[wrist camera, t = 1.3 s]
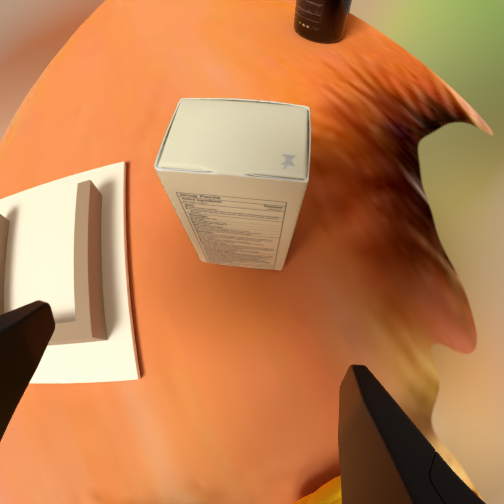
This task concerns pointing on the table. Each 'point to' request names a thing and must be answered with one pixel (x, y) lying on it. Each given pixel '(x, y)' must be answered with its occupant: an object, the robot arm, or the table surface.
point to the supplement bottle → (321, 19)
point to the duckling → (326, 494)
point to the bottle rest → (73, 273)
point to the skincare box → (237, 177)
